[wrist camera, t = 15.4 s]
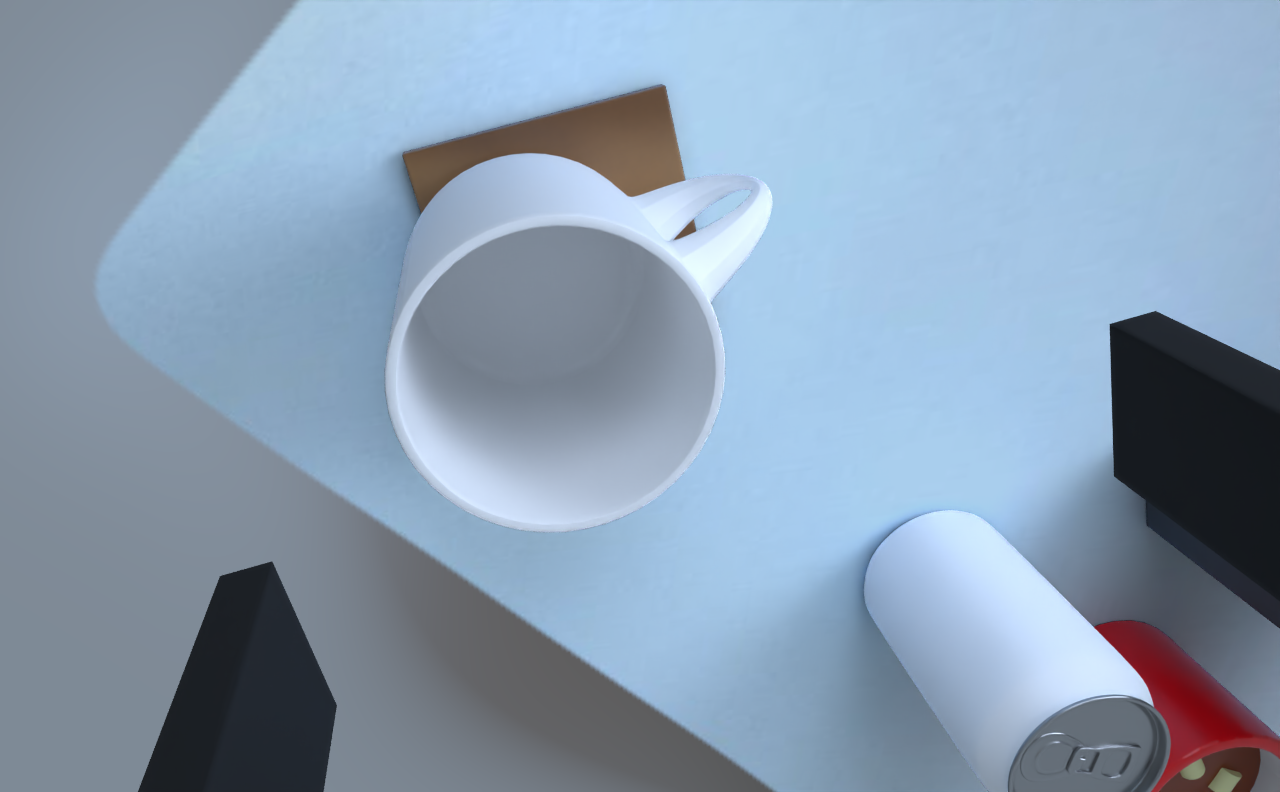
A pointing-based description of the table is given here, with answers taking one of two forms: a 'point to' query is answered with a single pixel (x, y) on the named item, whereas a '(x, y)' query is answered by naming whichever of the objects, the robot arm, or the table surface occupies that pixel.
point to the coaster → (570, 146)
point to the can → (1011, 663)
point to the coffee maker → (1214, 564)
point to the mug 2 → (1198, 718)
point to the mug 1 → (562, 338)
